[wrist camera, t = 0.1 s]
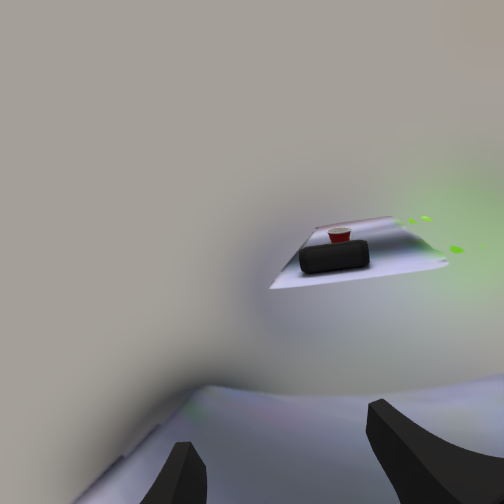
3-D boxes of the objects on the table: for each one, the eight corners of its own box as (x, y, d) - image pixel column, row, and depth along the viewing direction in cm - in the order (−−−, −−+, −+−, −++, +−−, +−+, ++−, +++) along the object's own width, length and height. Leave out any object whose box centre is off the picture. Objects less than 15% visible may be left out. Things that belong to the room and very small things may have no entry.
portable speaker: (368, 261, 104) (365, 236, 102) (370, 269, 95) (367, 241, 93) (305, 269, 112) (301, 245, 111) (301, 277, 103) (297, 251, 101)
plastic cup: (341, 260, 113) (337, 232, 111) (325, 258, 123) (321, 231, 121) (359, 253, 117) (356, 226, 115) (343, 251, 127) (339, 226, 125)
